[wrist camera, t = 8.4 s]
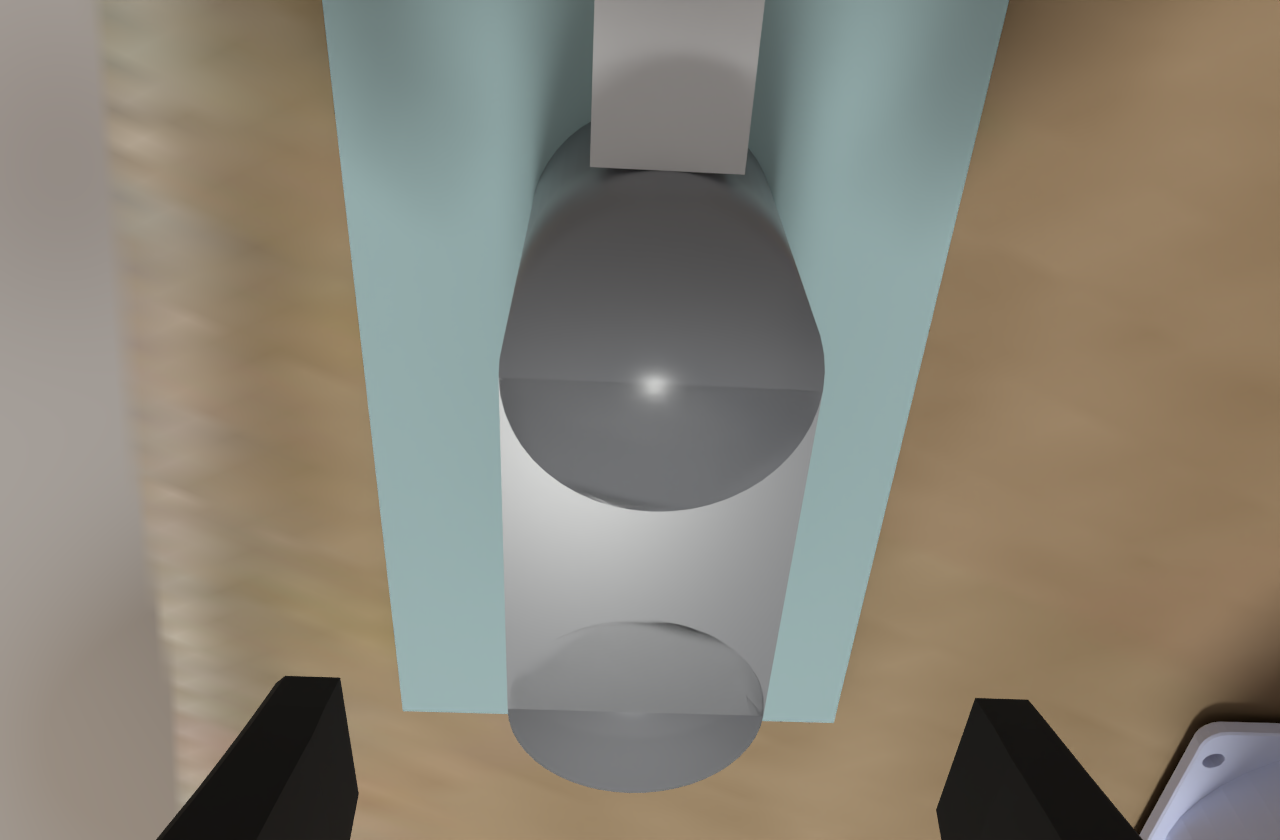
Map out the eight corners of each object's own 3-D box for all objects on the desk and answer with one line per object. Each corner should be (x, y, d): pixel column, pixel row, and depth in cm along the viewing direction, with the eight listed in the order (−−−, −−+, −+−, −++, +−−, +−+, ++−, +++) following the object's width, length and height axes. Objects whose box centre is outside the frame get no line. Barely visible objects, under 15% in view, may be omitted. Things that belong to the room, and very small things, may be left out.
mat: (828, 702, 24) (833, 722, 23) (407, 691, 23) (403, 710, 23) (1035, -173, 14) (1050, -171, 13) (309, -220, 13) (297, -219, 13)
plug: (723, 589, 21) (748, 795, 17) (533, 583, 21) (509, 789, 16) (813, -59, 14) (892, 14, 10) (529, -76, 14) (487, -9, 10)
